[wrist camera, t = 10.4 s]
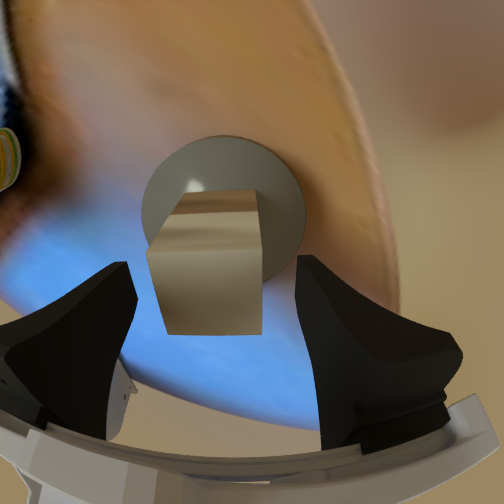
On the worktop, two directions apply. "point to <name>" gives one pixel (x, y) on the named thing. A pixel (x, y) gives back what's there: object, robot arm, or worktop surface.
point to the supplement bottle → (9, 158)
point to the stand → (232, 178)
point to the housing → (209, 265)
